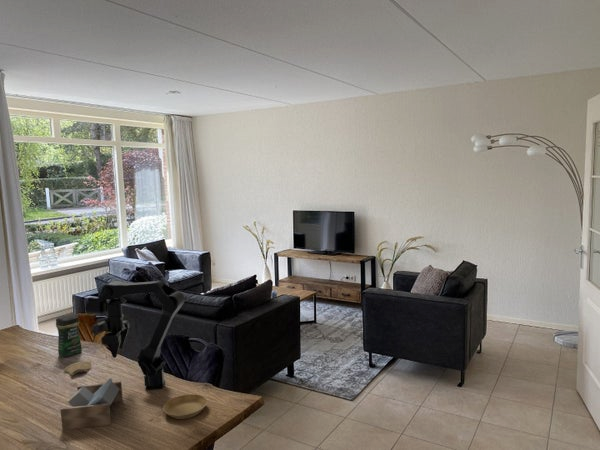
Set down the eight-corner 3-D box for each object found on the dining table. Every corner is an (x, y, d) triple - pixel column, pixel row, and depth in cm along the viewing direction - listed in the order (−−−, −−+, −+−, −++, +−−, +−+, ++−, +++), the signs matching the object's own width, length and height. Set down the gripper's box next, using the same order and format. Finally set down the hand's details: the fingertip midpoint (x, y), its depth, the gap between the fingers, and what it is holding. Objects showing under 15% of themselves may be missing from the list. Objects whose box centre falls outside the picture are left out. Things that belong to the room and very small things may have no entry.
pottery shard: (63, 375, 198) (67, 377, 190) (62, 365, 199) (66, 366, 191) (90, 369, 205) (95, 371, 197) (89, 359, 205) (94, 360, 197)
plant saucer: (170, 401, 169) (170, 394, 168) (211, 399, 169) (210, 393, 168) (158, 423, 154) (157, 416, 154) (202, 421, 154) (202, 414, 154)
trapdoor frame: (122, 399, 171) (121, 381, 170) (110, 424, 154) (108, 404, 153) (79, 404, 169) (78, 385, 168) (62, 429, 152) (60, 409, 151)
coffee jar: (64, 359, 212) (60, 319, 210) (56, 355, 216) (52, 316, 214) (85, 351, 220) (81, 313, 217) (76, 348, 224) (72, 311, 222)
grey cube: (94, 395, 163) (83, 385, 162) (89, 402, 158) (78, 392, 157) (83, 404, 163) (73, 395, 162) (78, 412, 158) (67, 402, 157)
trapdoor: (120, 387, 169) (110, 378, 168) (109, 406, 155) (98, 396, 154) (95, 409, 168) (85, 400, 167) (82, 431, 155) (71, 421, 154)
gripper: (99, 308, 188) (103, 345, 190) (84, 323, 170) (88, 364, 172) (128, 306, 190) (131, 343, 192) (116, 321, 171) (120, 361, 173)
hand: (117, 352), depth 182 cm, fingers open, 9 cm apart
